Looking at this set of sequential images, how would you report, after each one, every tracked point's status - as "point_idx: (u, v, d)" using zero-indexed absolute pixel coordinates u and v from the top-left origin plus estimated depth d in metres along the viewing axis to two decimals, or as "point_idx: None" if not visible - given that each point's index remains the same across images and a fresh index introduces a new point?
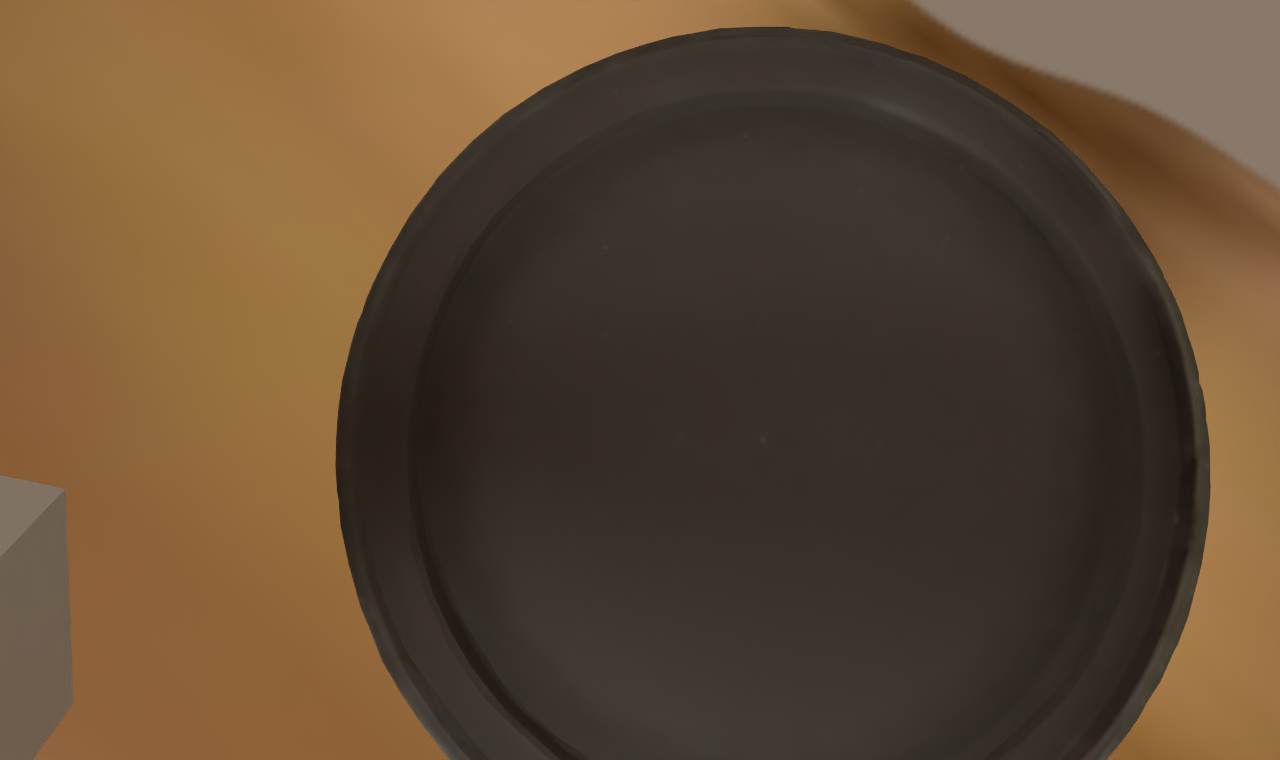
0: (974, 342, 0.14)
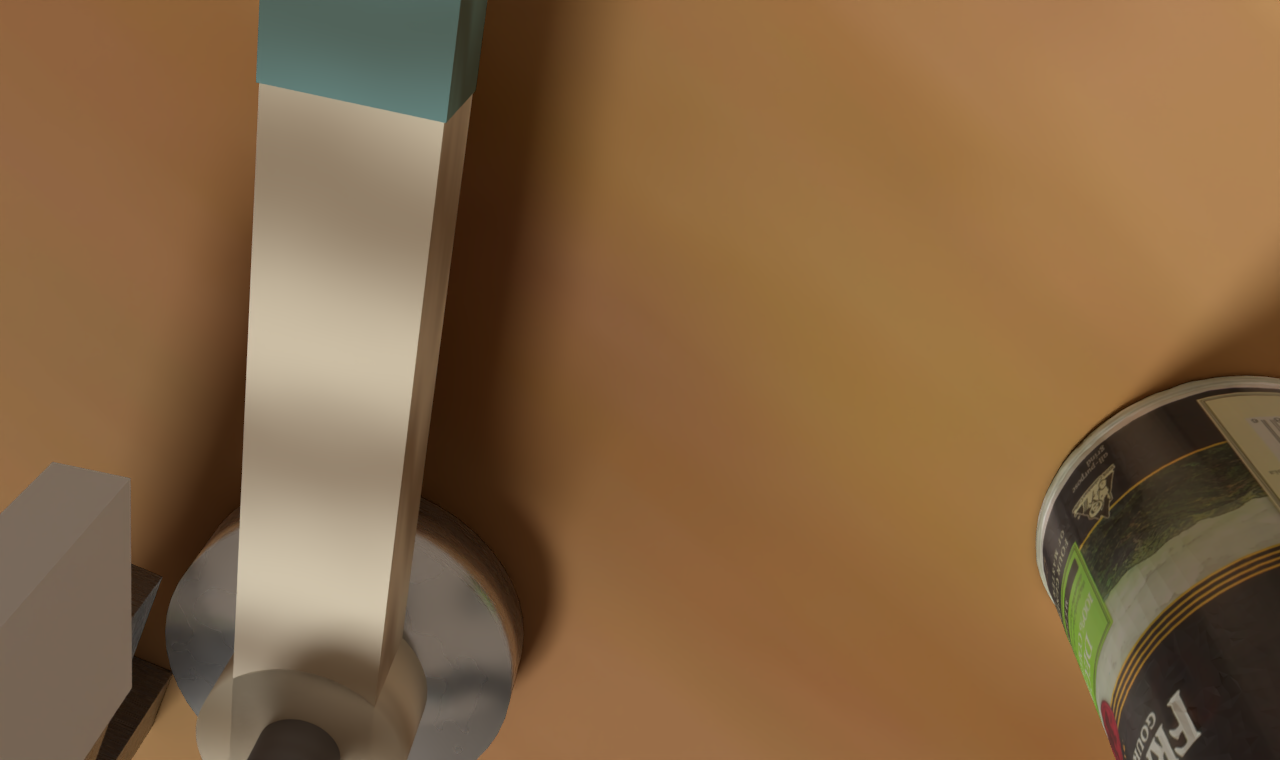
0: None
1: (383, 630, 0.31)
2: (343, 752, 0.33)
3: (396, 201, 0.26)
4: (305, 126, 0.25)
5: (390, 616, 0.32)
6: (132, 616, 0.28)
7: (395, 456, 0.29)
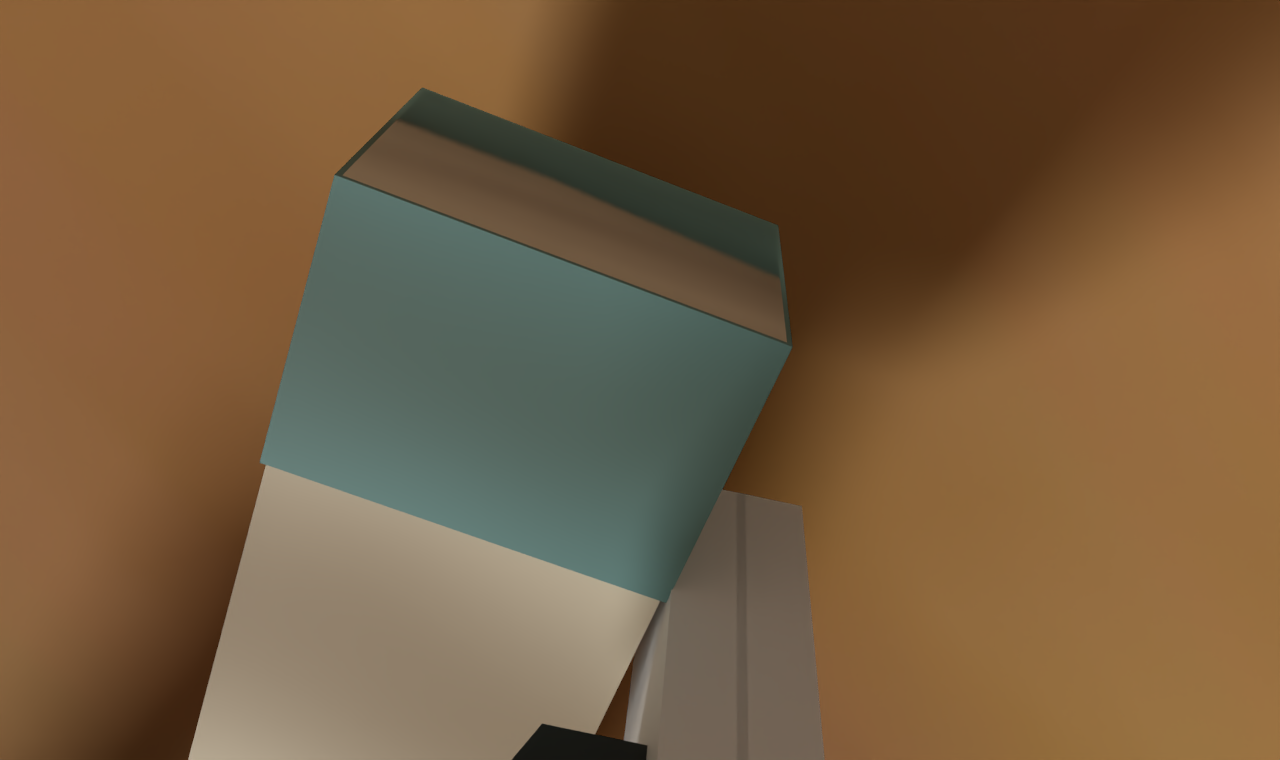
0: None
1: None
2: None
3: (518, 711, 0.12)
4: (353, 555, 0.11)
5: None
6: None
7: None
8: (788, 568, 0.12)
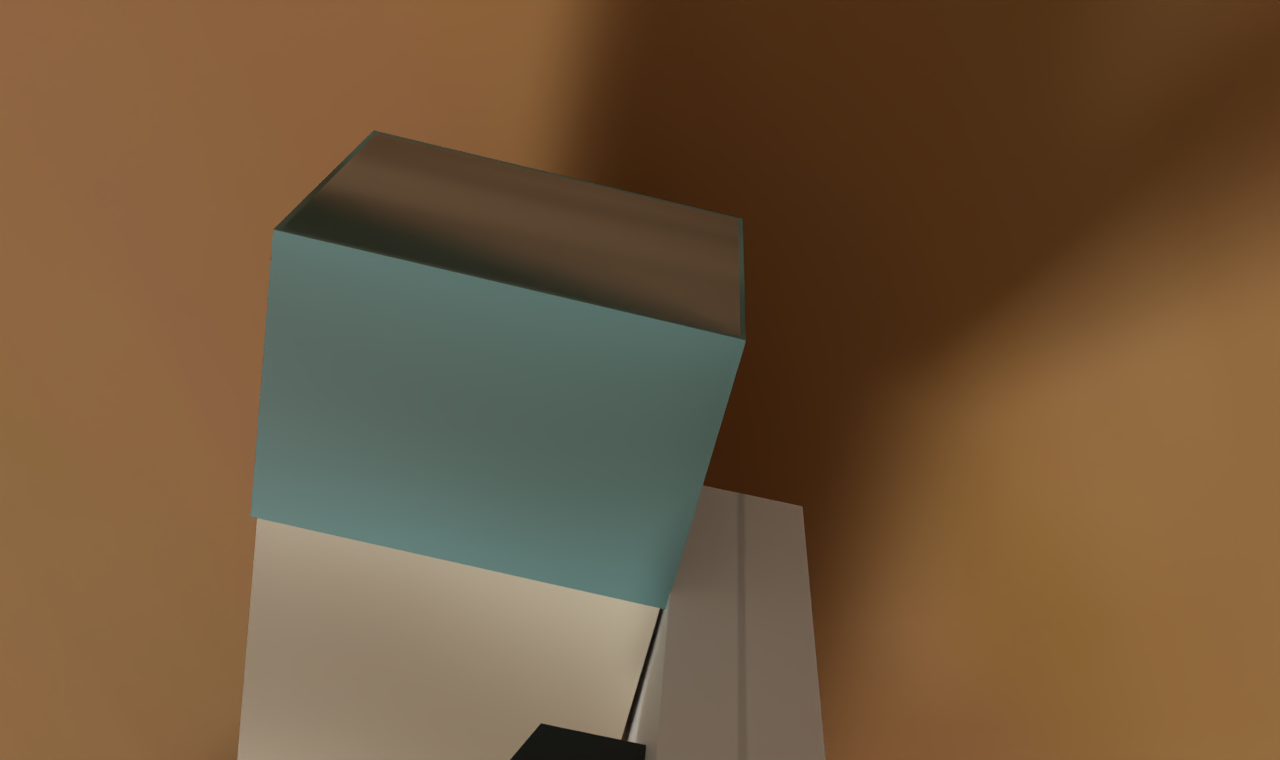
0: None
1: None
2: None
3: None
4: (355, 597, 0.12)
5: None
6: None
7: None
8: (790, 568, 0.12)
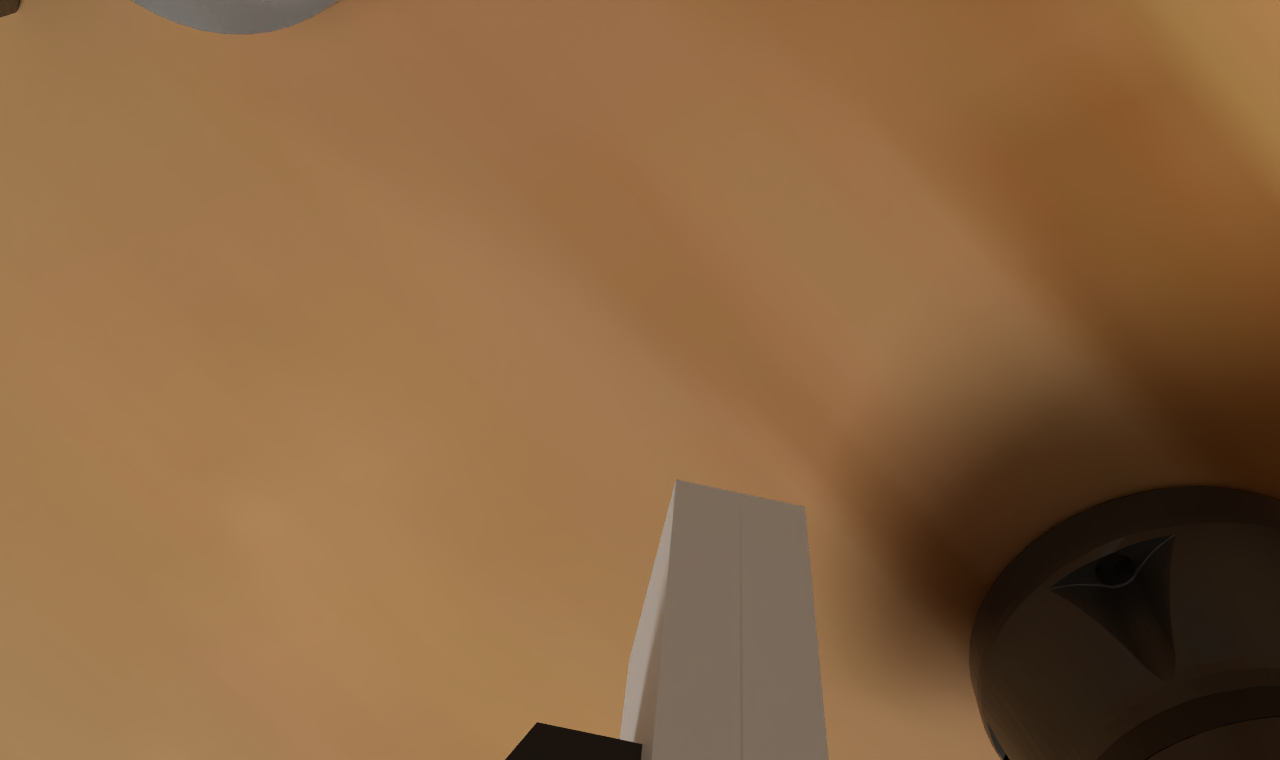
0: None
1: None
2: None
3: None
4: None
5: None
6: None
7: None
8: (792, 569, 0.12)
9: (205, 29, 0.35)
